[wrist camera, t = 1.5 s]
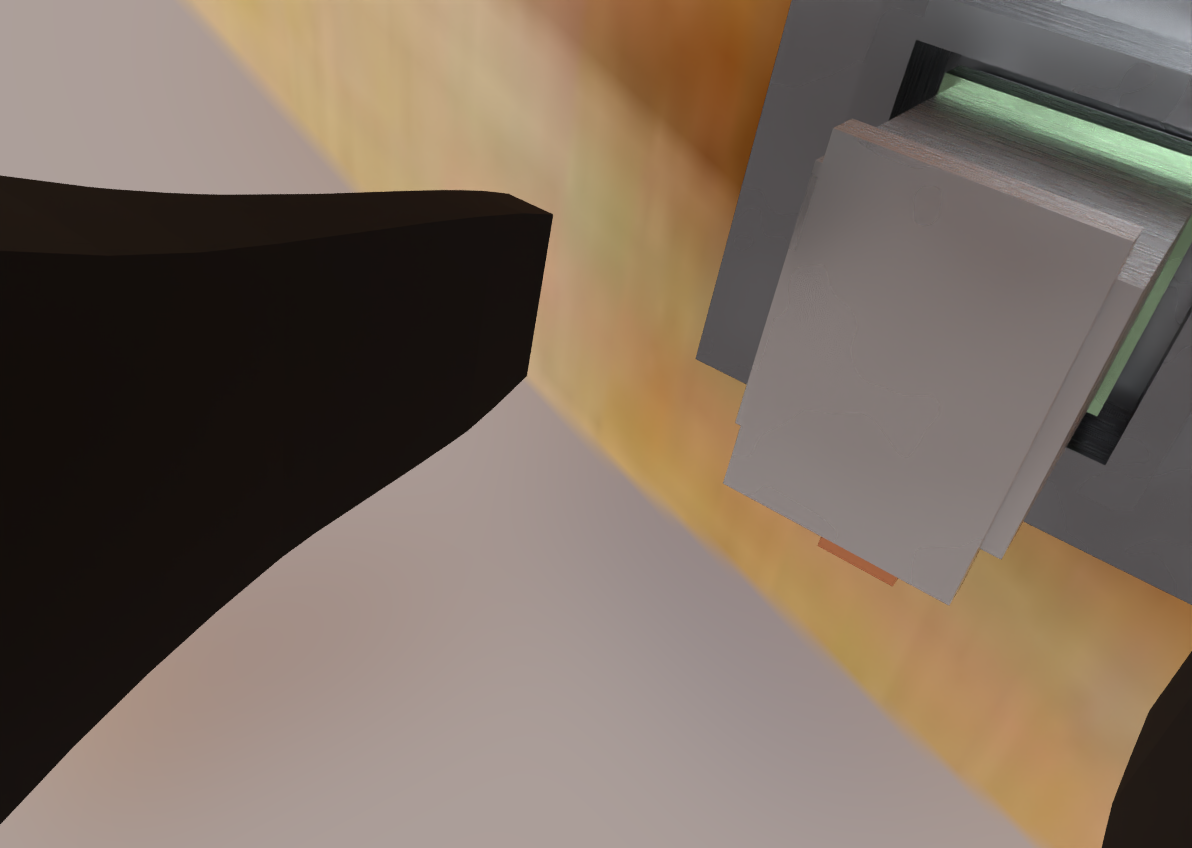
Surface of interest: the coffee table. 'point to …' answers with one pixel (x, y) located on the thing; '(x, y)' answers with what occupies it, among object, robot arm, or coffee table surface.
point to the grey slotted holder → (910, 77)
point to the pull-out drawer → (955, 318)
